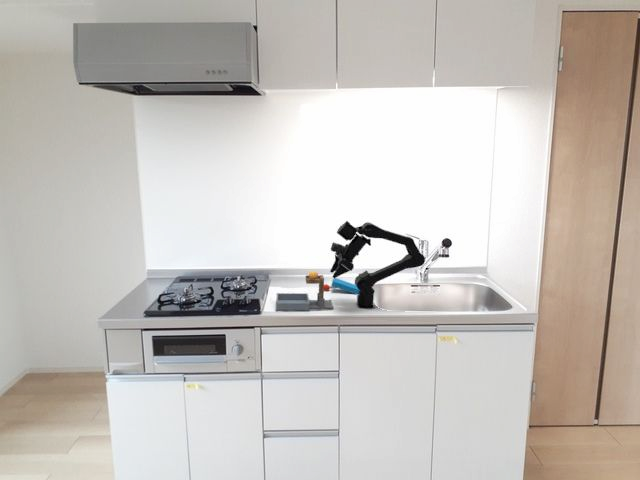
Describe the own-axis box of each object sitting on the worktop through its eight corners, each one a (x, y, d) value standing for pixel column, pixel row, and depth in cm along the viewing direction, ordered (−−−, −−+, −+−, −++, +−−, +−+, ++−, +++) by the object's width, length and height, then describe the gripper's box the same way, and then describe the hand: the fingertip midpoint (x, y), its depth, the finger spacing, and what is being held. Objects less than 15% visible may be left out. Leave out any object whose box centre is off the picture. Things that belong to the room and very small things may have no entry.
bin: (307, 300, 211) (307, 293, 210) (309, 311, 197) (309, 303, 196) (276, 300, 210) (276, 293, 209) (276, 311, 196) (276, 303, 195)
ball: (317, 278, 204) (317, 270, 203) (318, 281, 200) (318, 272, 199) (308, 278, 204) (308, 270, 203) (309, 281, 200) (309, 272, 199)
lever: (356, 299, 230) (322, 287, 231) (361, 286, 229) (326, 275, 230) (356, 303, 224) (321, 291, 225) (360, 290, 222) (325, 278, 223)
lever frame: (330, 302, 210) (331, 292, 209) (333, 309, 200) (333, 299, 199) (308, 302, 209) (309, 292, 208) (310, 309, 199) (310, 299, 198)
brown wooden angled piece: (322, 298, 207) (322, 274, 205) (323, 303, 201) (324, 279, 199) (305, 298, 207) (305, 274, 205) (305, 303, 200) (306, 278, 198)
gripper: (337, 232, 208) (316, 258, 210) (343, 239, 190) (319, 269, 192) (356, 247, 210) (335, 273, 212) (363, 256, 192) (340, 284, 194)
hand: (332, 274), depth 202 cm, fingers open, 9 cm apart
